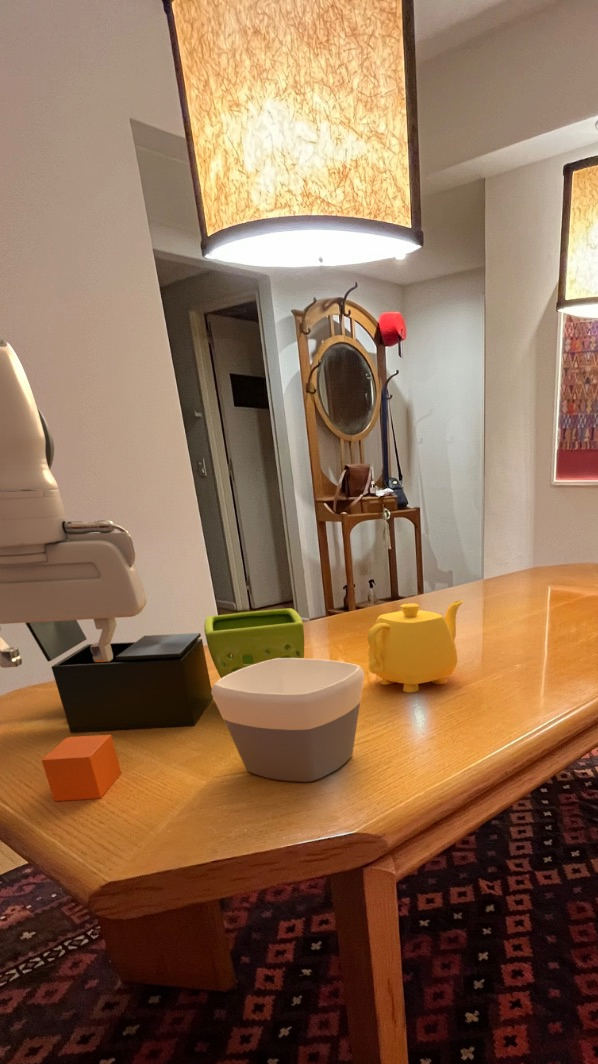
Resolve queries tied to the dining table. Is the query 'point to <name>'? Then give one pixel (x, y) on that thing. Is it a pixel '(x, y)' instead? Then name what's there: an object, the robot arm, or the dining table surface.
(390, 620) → the teapot
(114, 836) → the dining table surface
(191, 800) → the dining table surface
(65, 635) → the flap
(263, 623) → the flower pot
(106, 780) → the cube
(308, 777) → the bowl
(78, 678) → the black lidded box
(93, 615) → the robot arm
